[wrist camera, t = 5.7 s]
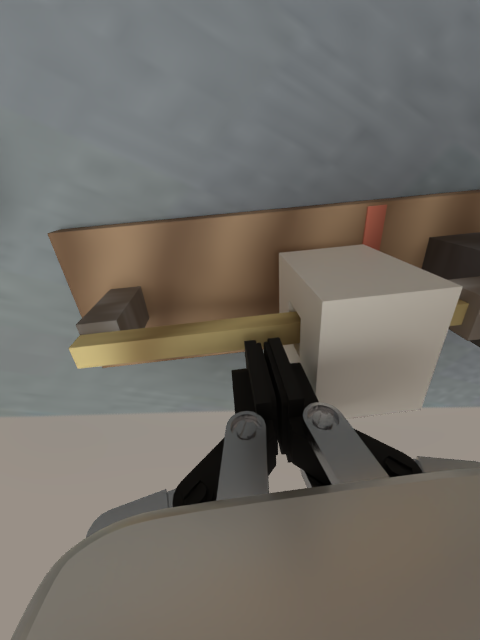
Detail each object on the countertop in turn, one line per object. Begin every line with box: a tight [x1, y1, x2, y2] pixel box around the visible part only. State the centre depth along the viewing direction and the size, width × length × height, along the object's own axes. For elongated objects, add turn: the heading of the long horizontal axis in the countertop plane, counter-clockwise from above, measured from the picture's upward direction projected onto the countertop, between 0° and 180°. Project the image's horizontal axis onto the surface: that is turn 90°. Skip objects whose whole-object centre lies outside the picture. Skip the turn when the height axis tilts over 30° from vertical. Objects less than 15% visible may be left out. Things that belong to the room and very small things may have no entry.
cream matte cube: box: [279, 244, 463, 419], centre depth 14 cm, size 5×6×7 cm
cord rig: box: [48, 190, 480, 369], centre depth 15 cm, size 28×10×10 cm, turn 95°
